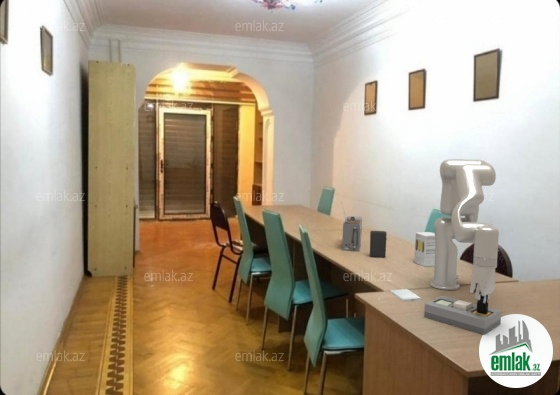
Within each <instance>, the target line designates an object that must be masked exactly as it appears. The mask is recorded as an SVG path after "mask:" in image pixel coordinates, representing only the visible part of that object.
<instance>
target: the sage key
mask: <svg viewBox="0 0 560 395" xmlns="http://www.w3.org/2000/svg"><path fill="white" fill-rule="evenodd" d="M436 303H438V304H442V305H446V306H449V305H451V304H453V303H451V302H447V301H443V300H440V301H438V302H436Z"/></svg>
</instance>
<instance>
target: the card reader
mask: <svg viewBox="0 0 560 395" xmlns="http://www.w3.org/2000/svg"><path fill="white" fill-rule="evenodd" d="M369 233H370V234H369V239H370V240H369V257H372V258H382V259H383V258H386V253H387V252H386V250H387V240H388V239H387V231H384V230H370V232H369Z"/></svg>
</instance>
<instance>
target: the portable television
mask: <svg viewBox="0 0 560 395" xmlns="http://www.w3.org/2000/svg"><path fill="white" fill-rule="evenodd" d="M341 205H342V210H343V215H344V218H345V219H344V222H343V223H342V251H345V252H360V251H361V246H362V245H361V244H362V229H363V227H362V226H363V218H362V216H346V212H345V209H344V206H343V201H341Z"/></svg>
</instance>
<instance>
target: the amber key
mask: <svg viewBox="0 0 560 395" xmlns="http://www.w3.org/2000/svg"><path fill="white" fill-rule="evenodd" d="M473 313H475V314H479V315H483V316H489V315H491V313H489V312H488V313H487V314H481V313H477V310H476V311H474V312H473Z"/></svg>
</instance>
